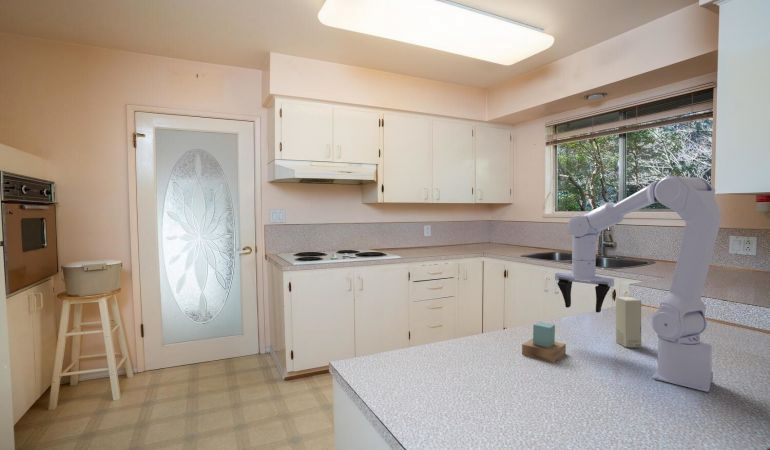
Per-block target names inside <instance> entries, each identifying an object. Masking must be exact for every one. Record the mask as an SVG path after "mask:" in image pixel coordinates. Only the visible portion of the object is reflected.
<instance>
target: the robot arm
mask: <svg viewBox="0 0 770 450" xmlns="http://www.w3.org/2000/svg"><path fill="white" fill-rule="evenodd" d="M715 193H716V189H715V187H714V186H712V184H710V183H709V182H708V181H707V180H705V179H704V178H702V177H697V176H695V177H687V176H686V177H684V176H677V175H668V176H663V177H662V178H660V180H655V181H652V182H651V183H650V184H647V186H645V187H643V188H642V189H640V190H638V191H636V192H635V193H633V194H631V195H630V196H628V197H625V198H624V199H622V200H620V201H619V202H617V203H614V202H611V201H610V202H607V201H606V202H605V201H603V202H601V203H599V206H598V207H597V208H595V209H593V210H587V211H585V214H583V215H578V214H577V215H573V217H571V218H570V219H569V221H568V224H567V230H568V232H569V234H570V235H571V236H572V247H571V249H572V251H571V252H572V253H571V261H572V262H571V273H567V272H566V273H565V272H555V273H554V280H555V281H558V282H557V283H556V284H557V287H558V288H559V290H560V292H561V295H562V296H563V301H564V305H565V308H567V309H568V308H571V306H572V287H573V282H574V283H583V284H590V285H596V286H595V287H594V289H595V290H594V291H595V299H596V300H595V313H600V312H601V311H602V308H603V307H602V306H603V303H604V301H605V298H606V296H607V295H608V292H609V291H610V289H611V287H612V288H613V287H615V278H612V277H606V276H598V275H596V267H597V266H596V265H597V264H596V263H597V262H596V261H597V258H596V257H597V256H596V255H597V254H596V253H597V250H596V249H597V242H598V237H599V235H600V233H601V232H602V231H604V230H607V229H608V228H610V227H612V226H615V225H617V224H620V223H621V222H622V221H623V219H624V216H625V215H628V214H630V213H633V212H635V211H638V210H640V209H643V208H645V207H648V206H650V205H652V204H656V203H657V204H658V203H660V204H662V205H663V206H665V207H667V208H668V209H670V210H672V211H674V212H675V213H676V214H677V215H678V216H679V217H680V218H681V219H682V220H683V222H685V225H684V231H683V234H682V239H681V243H680V247H679V251H678V255H677V259H676V263H675V269H674V270H673V271H674V272H673V276H672V280H671V285H670V287H669V288H670V289H669V291H668V292H669V293H667V295H666V296H665V297H664V298H663V299H662V300H661V302H660V303H659V307H658V309H657V310H656V311H655V312H654V313H653V314H652V317H651V321H650V323H651V326H652V329H653V330H654V332H655V333H656V334H657V339H658V340H657V367H656V369H655V371H654V373H653V374H652V379H653V380H658V381H662V382H666V383H669V384H673V385H677V386H682V387H686V388H689V389H694V390H699V391H702V392H705V393H708V392H710V389H711V385H712V384H711V383H712V382H713V381H714V372H713V369H712V368H713V345H712V344H709V343H704V342H702V341H701V334H702V333H704V332H705V331H706V329H707V326H708V320H707V318H706V309H707V305H706V304H705V303H704V302H703V300H702V295H703V291H704V288H705V284H706V280H707V276H708V272H709V269H710V264H711V260H712V257H713V253H714V250H715V246H716V241H717V237H718V233H719V230H720V227H721V223H722V214H721V211H720V208H719V206H718V203H717V200H716V197H715Z"/></svg>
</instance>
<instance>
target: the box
mask: <svg viewBox="0 0 770 450" xmlns="http://www.w3.org/2000/svg"><path fill="white" fill-rule="evenodd" d="M615 343H617V344H619V345H621V346H623V347H625V348H642V300H641V299H638V298H634V297H631V296H616V297H615Z"/></svg>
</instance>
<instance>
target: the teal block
mask: <svg viewBox="0 0 770 450" xmlns="http://www.w3.org/2000/svg"><path fill="white" fill-rule="evenodd" d="M532 325H533V332H532V339H533V344H535V345H539V346H544V347H548V348H549V347H551V346H552V345H554V344H555V342H556V341H555V339H556V338H555V334H556V333H555V332H556V324H553V323H549V322H542V321H538V322H536V323H534V324H532Z"/></svg>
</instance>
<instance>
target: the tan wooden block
mask: <svg viewBox="0 0 770 450" xmlns="http://www.w3.org/2000/svg"><path fill="white" fill-rule="evenodd" d="M566 345H567V343H563V342H558V341H555V344H554V345H552V346H551V347H549V348H548V347H544V346H539V345H535V344H533V338H531V339H529V340H527V341H525V342H524V343H522V344H521V354H522V355H523V356H527V357H531V358H536V359H538V360H542V361H546V362H551V363H554V364H555V362H557V361H558V360H560V359H561V358H562V357H564V356H565V355H566V354H567V353H566V351H567V350H566V349H567V348H566V347H567V346H566Z"/></svg>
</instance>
